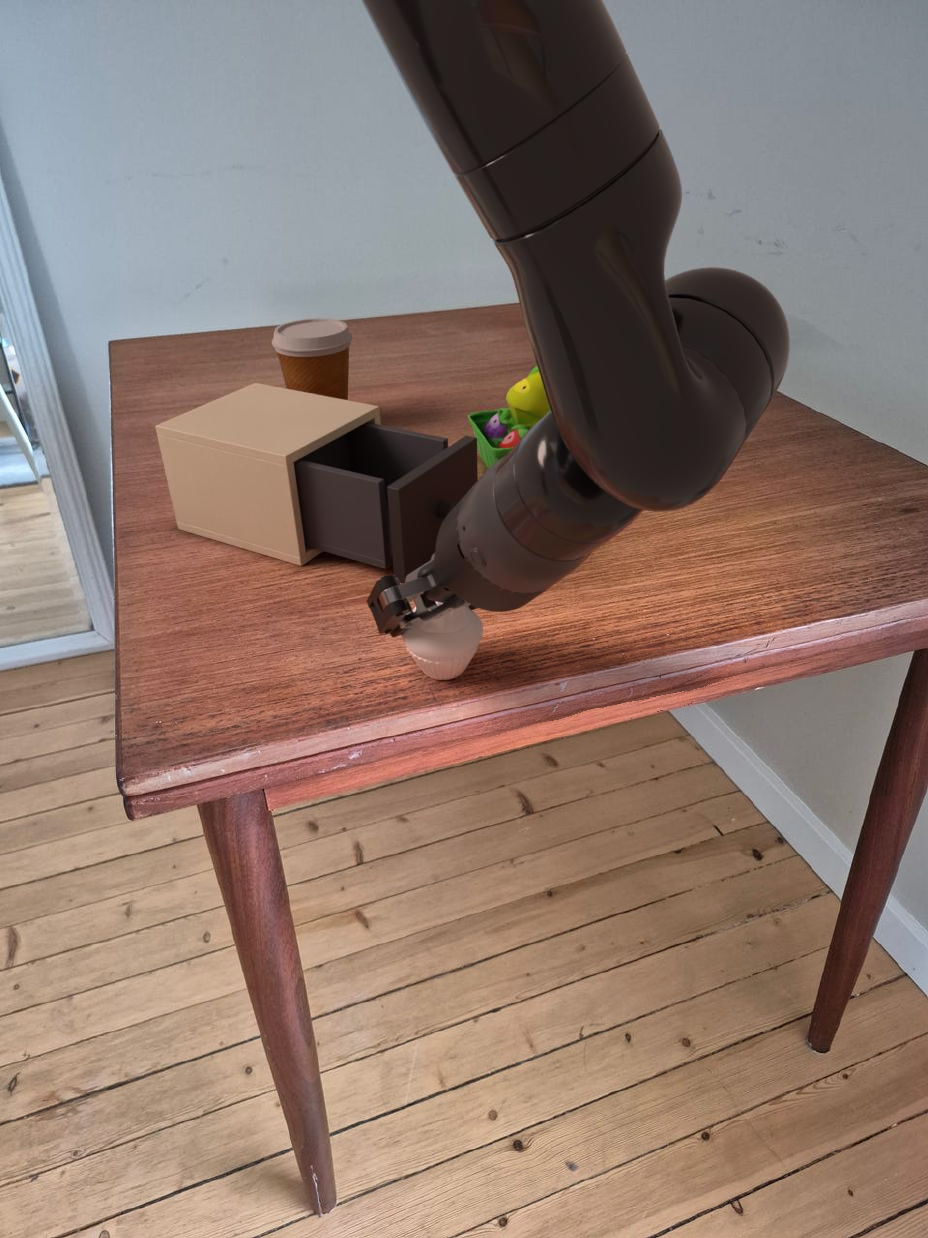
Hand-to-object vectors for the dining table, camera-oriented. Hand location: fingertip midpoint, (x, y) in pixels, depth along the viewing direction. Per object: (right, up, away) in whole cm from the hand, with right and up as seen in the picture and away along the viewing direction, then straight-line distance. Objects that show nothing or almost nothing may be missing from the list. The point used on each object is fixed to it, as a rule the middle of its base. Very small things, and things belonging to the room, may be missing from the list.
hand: (430, 610), depth 67 cm
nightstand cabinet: (-16, +10, +23) cm, 30 cm away
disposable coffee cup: (-15, +24, +45) cm, 53 cm away
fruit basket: (+9, +16, +32) cm, 37 cm away
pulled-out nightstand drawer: (-5, +7, +17) cm, 19 cm away
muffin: (+1, -5, +1) cm, 5 cm away
